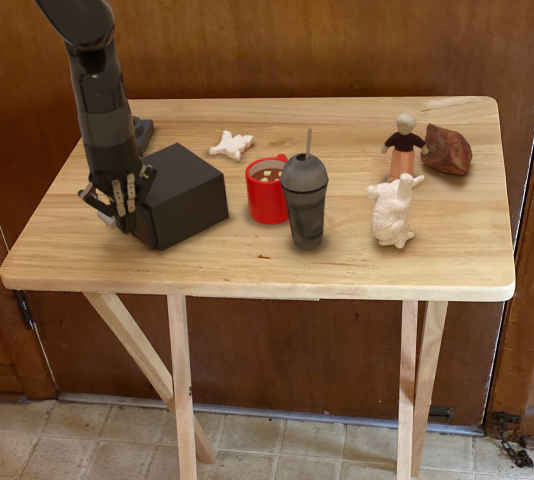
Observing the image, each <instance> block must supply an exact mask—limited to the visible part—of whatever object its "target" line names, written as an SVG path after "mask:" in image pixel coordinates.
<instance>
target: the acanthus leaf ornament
mask: <svg viewBox="0 0 534 480" xmlns="http://www.w3.org/2000/svg"><path fill="white" fill-rule="evenodd" d="M253 140H254V136H253V135H252V134H251V135H248V134H245V135H243V136H242V135H241V134H237V135H235V136H233V134H232V132H231V131H229V130H224V131H222V135H221V140H220V142H219V143H218V145H216V146H211V147H210V148H209V149H208V150H209V151H208V154H209V155H210V156H214V155H217V154H221V155H225V156H226V157H227V158H228V159H229V158H230V159H232V160H235V161H236V162H240V160H241V158H242V153H244V152H245V149H248V148H250V147H251V146H252V143H253Z"/></svg>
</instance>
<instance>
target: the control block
mask: <svg viewBox="0 0 534 480" xmlns="http://www.w3.org/2000/svg"><path fill="white" fill-rule="evenodd" d="M132 116H133V120H134V129H135V135H136V141H137V146H138V152H139V157H144V154H145V152H146V149H147V147H148V145H149V143H150V140H151V138H152V136H153V133H154V132H155V125H154V120H153V119H152V118H151V119H149V118H148V119H147V118H146V119H144V118H140V117H138V116H135V115H132Z"/></svg>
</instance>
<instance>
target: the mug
mask: <svg viewBox="0 0 534 480" xmlns="http://www.w3.org/2000/svg"><path fill="white" fill-rule="evenodd" d="M288 160H289V158H288V157H287V156H286V154H284V153H279V154H277V155H276V156H273V157H272V156H269V157H263V158H259V159H256V160H254V161H252V162H251V163H249V164H248V165H247V167H246V168H245V170H244V175H245V185H246V186H245V187H246V193H247V203H248V210H249V216H250V217H251V219H253V221H255V222H257V223H259V224H264V225H277V224H281V223H285V222H287V221H289V216H288V210H287V205H286V199H285V196H284V193H283V190H282V186H281V184H280V179H281V173H282V170H283V167H284V165H285V163H286V162H287V161H288Z"/></svg>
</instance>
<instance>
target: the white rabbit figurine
mask: <svg viewBox="0 0 534 480" xmlns="http://www.w3.org/2000/svg"><path fill="white" fill-rule="evenodd" d="M399 179H400V180H399ZM399 179H397V180H395V181H393V182H392V183H387V182H382V183H381V182H380V183H378V184H376V185H373V184H372V185H368V187H367V189H366V192H365V193H366V198H367V200H368V201H372V200H374V206H373V207H372V208H373V209H372V213H371V218H370V231H371V234H372V235H373V237H374V238H376V239H377V240H378V244H379V245H380V246H391V245H394V247H395V248H397V249H399V250H400V249H403V248H404V247H405V244H406V242H407V241H408V240H411V239H412V238H415V236H416V234H415V233H414V232H413V231H409V230H408V229H409V226H410V224H409V220H408V219H409V218H408V212H409V211H408V209H409V208H410V206H411V204H412V202H413V198H414V190H413V188H414V187H416V186H417V185H418V184H420V183H422V181H424V180H425V175H424V174H421V175H418V176H417V177H415V178H414V176H411V175H410V174H407V173H404V174H402V175H401V176H400V178H399Z"/></svg>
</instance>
